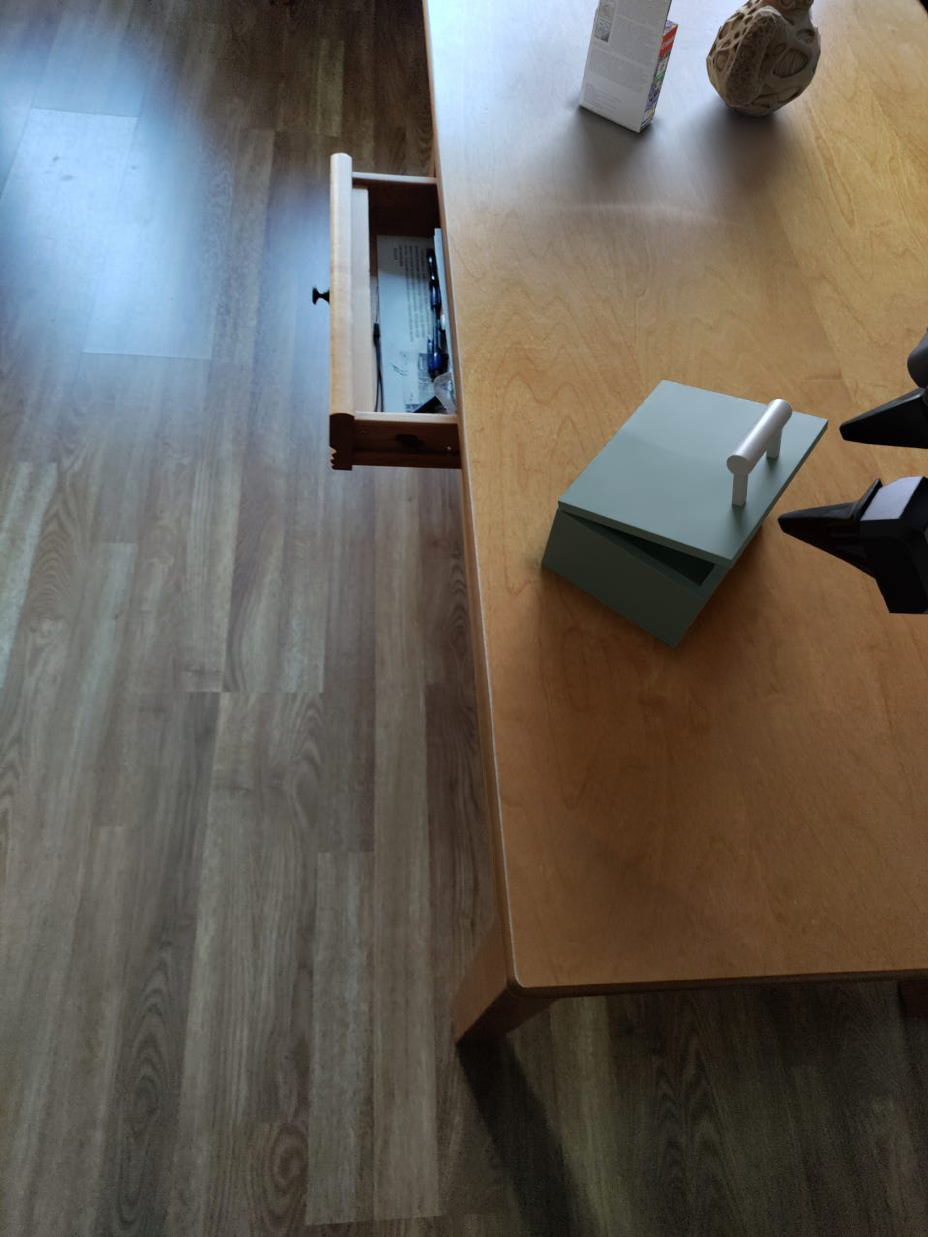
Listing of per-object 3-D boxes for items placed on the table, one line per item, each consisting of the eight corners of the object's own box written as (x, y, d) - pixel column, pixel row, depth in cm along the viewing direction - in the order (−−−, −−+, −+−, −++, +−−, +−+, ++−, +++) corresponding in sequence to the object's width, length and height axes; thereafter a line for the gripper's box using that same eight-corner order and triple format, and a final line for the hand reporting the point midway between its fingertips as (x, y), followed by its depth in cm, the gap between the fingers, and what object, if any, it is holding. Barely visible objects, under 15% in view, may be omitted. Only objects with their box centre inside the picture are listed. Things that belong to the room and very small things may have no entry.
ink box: (592, 92, 96) (624, -63, 83) (654, 120, 94) (696, -33, 81) (575, 106, 94) (605, -49, 82) (637, 135, 92) (678, -19, 80)
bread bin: (762, 521, 68) (798, 465, 62) (674, 649, 61) (705, 601, 56) (637, 447, 71) (661, 388, 65) (540, 563, 64) (556, 508, 58)
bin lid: (827, 428, 58) (837, 367, 55) (731, 569, 52) (735, 509, 48) (662, 388, 65) (662, 330, 61) (558, 509, 58) (550, 452, 55)
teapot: (723, 48, 103) (773, -105, 90) (816, 79, 101) (880, -72, 88) (666, 138, 93) (712, -20, 80) (767, 174, 91) (832, 18, 78)
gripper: (1143, 191, 41) (830, 279, 53) (1026, 416, 33) (688, 460, 45) (1176, 389, 46) (883, 428, 58) (1082, 628, 38) (764, 616, 50)
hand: (812, 476), depth 53 cm, fingers open, 9 cm apart
